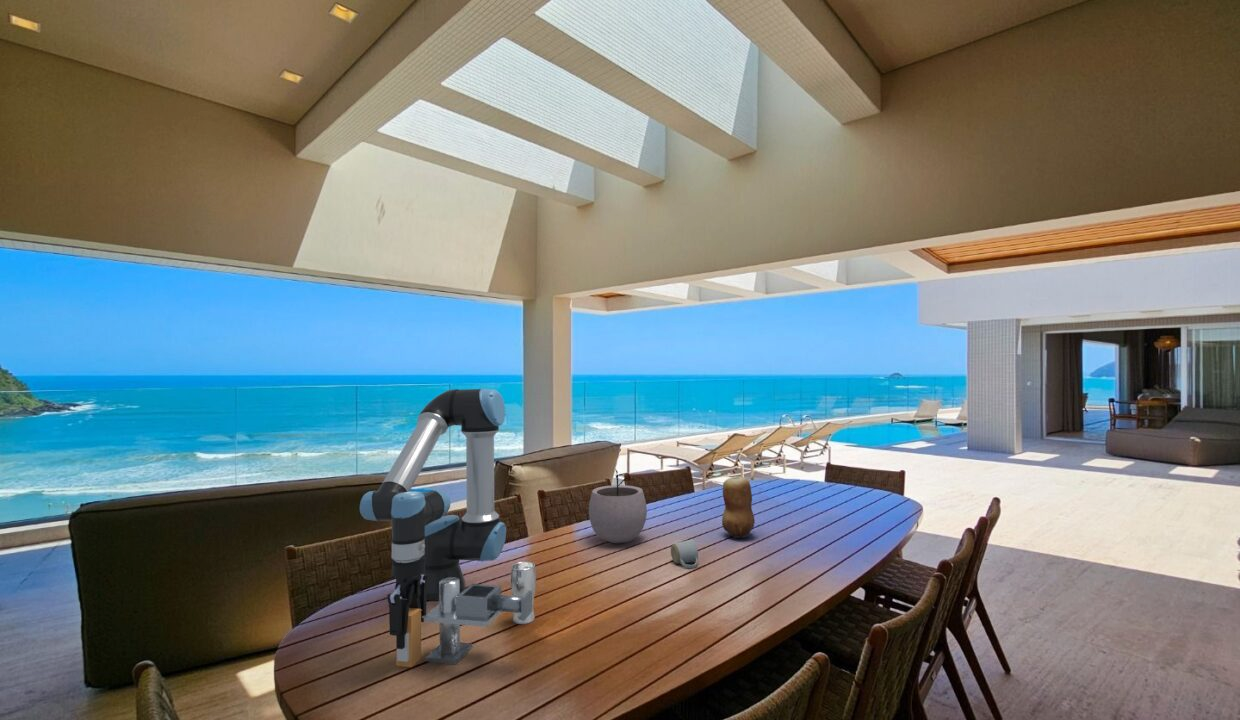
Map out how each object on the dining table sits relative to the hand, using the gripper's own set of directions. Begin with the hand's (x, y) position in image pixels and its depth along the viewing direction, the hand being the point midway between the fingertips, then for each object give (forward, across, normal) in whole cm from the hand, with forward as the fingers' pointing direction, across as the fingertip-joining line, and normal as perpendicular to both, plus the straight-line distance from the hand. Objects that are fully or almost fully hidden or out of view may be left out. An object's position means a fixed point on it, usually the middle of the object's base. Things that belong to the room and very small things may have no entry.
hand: (408, 655), depth 128 cm
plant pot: (+2, +99, -31) cm, 104 cm away
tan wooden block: (+2, 0, 0) cm, 2 cm away
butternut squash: (+2, +112, -80) cm, 138 cm away
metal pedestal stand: (+2, +5, -12) cm, 13 cm away
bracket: (-9, +5, -20) cm, 23 cm away
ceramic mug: (+2, +78, -61) cm, 99 cm away
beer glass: (+2, +26, -19) cm, 32 cm away
